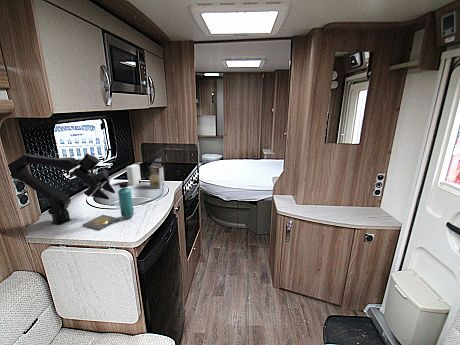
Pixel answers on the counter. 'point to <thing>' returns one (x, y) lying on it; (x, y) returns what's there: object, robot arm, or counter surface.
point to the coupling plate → (101, 222)
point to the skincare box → (133, 174)
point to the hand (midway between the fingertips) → (111, 195)
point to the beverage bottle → (125, 200)
